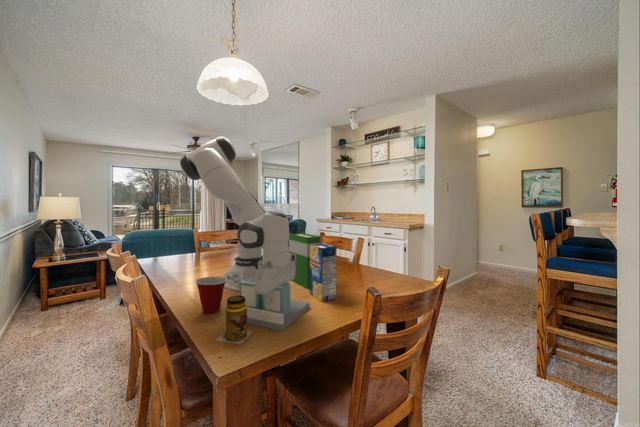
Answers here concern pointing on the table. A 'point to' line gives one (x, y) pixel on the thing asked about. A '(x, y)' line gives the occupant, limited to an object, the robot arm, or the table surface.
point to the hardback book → (302, 256)
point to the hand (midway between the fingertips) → (276, 299)
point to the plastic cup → (211, 293)
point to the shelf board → (276, 316)
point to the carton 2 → (279, 300)
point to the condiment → (235, 321)
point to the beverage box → (323, 271)
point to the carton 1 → (250, 294)
